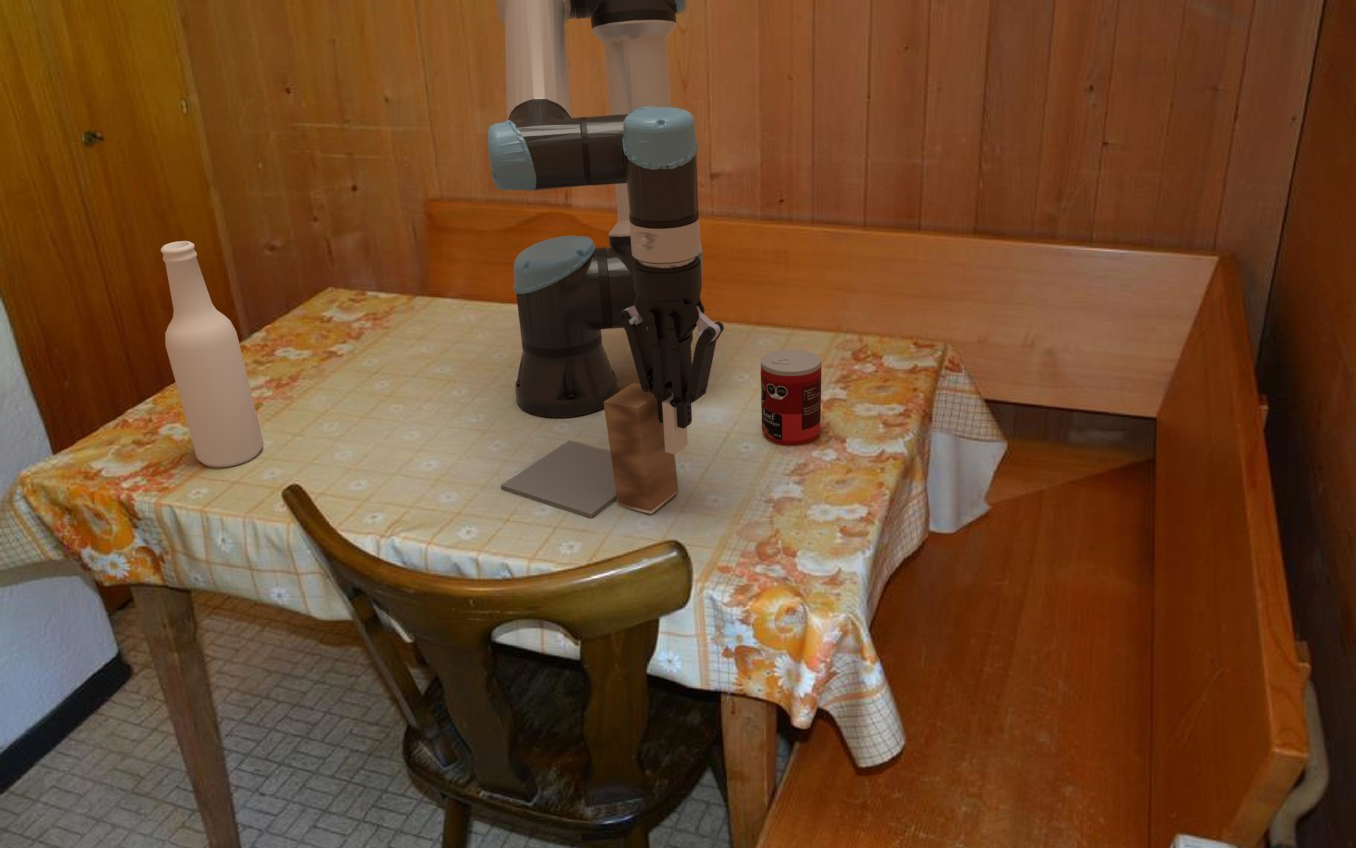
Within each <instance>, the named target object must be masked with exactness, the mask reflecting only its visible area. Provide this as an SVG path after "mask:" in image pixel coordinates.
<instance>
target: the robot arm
mask: <svg viewBox="0 0 1356 848" xmlns="http://www.w3.org/2000/svg"><path fill="white" fill-rule="evenodd" d="M495 5H496V10H497V12H496V13H497V15H498V18H499V19H500V21H501V23H502V24H503V26H504V36H505V37H504V44H505V45H504V46H505V48H504V49H505V82H506V83H505V84H506V85H505V88H506V89H505V90H506V95H505V96H506V120H504V121H503V122H498V123H497V122H496V123H494V124H491V125H490V126H489V128H488V131H487V150H488V160H489V168H490V173H491V179H492V182H493V184H494V185H495V187H496V188H497V189H499V190H501V191H505V192H506V191H527V192H534V191H539V190H540V191H541V190H543V191H544V190H553V189H555V190H556V189H563V188H575V187H577V188H578V187H585V186H586V187H588V186H591V187H593V186H604V185H605V186H606V185H608V186H609V185H615V186H614V187H615V197H616V209H617V222H616V223H615V225H614V226H613V228H612V229H611V230H610V231H609V232H608V243H609V244H608V246H605V247H604V246H603V247H596V244H595V243H594V240H593V239H591V238H590V237H588V236H586V235H579V236H577V235H574V234H573V235H565V236H559V237H553V238H552V237H551V238H549V239H546V240H542V241H540V242H537V243H534V244H532V245H530V246H528V247H527V248H525V249H523V250H522V251H521V252H520V253H519V254H518V255H517V257H516V258H515V260H514V263H513V278H514V279H513V280H514V284H513V290H514V291H513V292H514V293H515V295H516V302H517V313H518V320H519V321H518V322H519V329H520V331H519V332H520V338H521V339H520V340H521V346H522V354H521V357H520V361H519V362H520V364H519V368H518V373H517V379H516V382H515V388H514V389H515V397H516V404H517V405H518V406H519V408H520V409H521V410H523V411H524V412H527V413H528V414H532V415H535V416H539V417H545V418H546V417H547V418H570V417H579V416H583V415H588V414H592V413H594V412H595V413H596V412H597V411H599V410H602V409H605V408H604V401H606V400H607V399H609V398H610V397H612V396H614V395H615V394H617V393H618V392H619V389H618V388H619V387H618V378H617V375H616V373H615V371H614V369H613V368H612V367H611V363H610V360H609V358H608V354H607V353H606V350H605V348H604V345H603V339H602V330H612V329H623V330H624V332H626V333H625V334H626V337H627V341H628V344H629V347H630V348H629V349H630V351H631V355H632V359H633V362H634V367H635V370H636V373H637V377H638V380H639V384H640V385H641V388H642V390H643V391H644V392H651V393H652V394H654V396H655V398H656V399H657V408H658V419H659V422H660V423H663V424H664V441H665V452H667V453H671V454H674V455H675V456H676V455H677V454H679V453H680V452H681V451H683V449H685V448H686V447H688V446H689V439H688V436H689V435H688V427H689V426H690V425H692V421H693V414H692V413H693V410H692V404H693V403H695V402H696V401H698V400H699V399H701V397H703V396H704V395H706V394H707V389H708V386H709V379H710V376H711V375H710V374H711V370H712V364H713V358H714V354H715V350H716V344H717V341H718V339H719V338H720V335H722V333H723V332H724V329H725V326H724V324H723V323H722V322H721V321H716V322H713V321H712V320H711V319H710V318H709V317H708V316H707V315H706V314H705V307H704V305H703V303H702V299H701V293H702V289H703V288H702V287H703V245H702V243H701V242H702V241H701V228H700V227H701V225H700V221H701V220H700V212H699V211H700V210H699V195H698V194H699V192H698V191H699V190H698V185H699V184H698V183H699V181H698V150H699V142H698V139H697V134H696V133H697V131H696V123H695V117H694V115H693V114H692V113H691V112H690V111H688V110H687V109H681V108H678V107H672V105H671V104H672V102H671V87H670V76H669V75H670V73H669V59H668V58H669V57H668V45H667V40H668V38H669V36H670V35H671V34H672V32H674V30H675V29H676V28H677V16H676V15H680V14H681V13H683V12H685V10H686V7H687V0H496V3H495ZM569 19H576V20H578V19H590V27H591V32H592V33H591V34H593V35H594V36H595V37H596V38H597V39H598V40H600V41H601V43H602V44H603V46H604V47H603V48H604V58H605V60H604V61H605V70H606V85H607V97H608V109H609V114H608V115H598V116H597V115H596V116H579V117H573V114H572V101H571V91H570V89H571V88H570V78H569V77H570V76H569V65H568V64H569V62H568V52H567V51H568V50H567V38H566V27H565V25H566V24H567V22H568V21H569ZM696 327H697V332H696V334H695V335H696V338H698V339H697V341H696V344H695V347H694V353H693V357H692V343H693V340H694V333H693V332H694V331H695V329H696Z"/></svg>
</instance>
